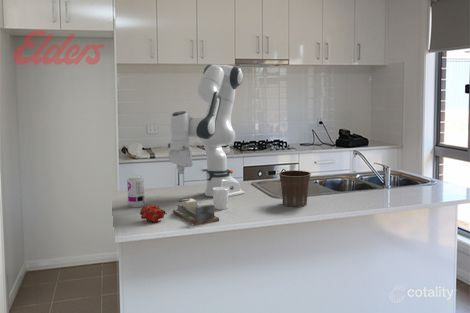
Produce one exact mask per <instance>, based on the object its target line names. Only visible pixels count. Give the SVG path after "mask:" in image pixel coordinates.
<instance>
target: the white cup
mask: <svg viewBox="0 0 470 313" xmlns="http://www.w3.org/2000/svg"><path fill="white" fill-rule="evenodd" d="M228 196H229V188H228V187H215V188H213V205H214V210H219V211H220V210H227V209H229V197H230V196H229V197H228Z"/></svg>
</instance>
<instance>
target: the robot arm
mask: <svg viewBox="0 0 470 313" xmlns="http://www.w3.org/2000/svg"><path fill="white" fill-rule="evenodd" d="M243 80H244V72H243V70H242V68H240V67H238V66H235V65H234V66H233V65H230V64H229V65H228V64H214V63H211V64H207V65H206V66H205V68H204V69H203V73H202V76H201V79H200V81H199V83H198V85H197V89H196V90H197V94H198V96H199V97H200V99H202V100H203V101H204V102H205V103H208V105H207V106H208V107H207V110H206V114H205V116H204V117H201V118H200V117H193V116H190V115H189V114H188V112H187V111H183V110H182V111H176V112H174V113H172V114H171V117H170V124H169V125H170V134H171V135H170V136H171V137H170V142H168V143H167V148H168V161H169V162H170V163H171V164H174V165H175V164H176V169H177V173H178V174H180V175H184V172H185V168H190V167H192V166H193V154H192V151H191V150H190V138H194V139H195V138H198V139H199V140H200V141H201V143H202V145H203V147H204V151H205V156H206V173H205V174H206V187H205V192H204V195H205V196H207V197H211V198H212V197H213V188H215V187H228V188H229V196H228V198H229V197H233V196H238V195H242V194H243V195H244V194H245V190H243V189H241V184H240V182H239V181H238V180H237V179H236V178H234V177H233V176H231V175H232V174H234V171H233V170H232V169H228V163H227V162H228V157H227V154H226V153H225V151H224V149H223V147H224V146H230V145H231V144H233V143H234V142H235V139H236V132H235V129H233V126H232V113H233V109H234V103H235V97H236V89H237V88H239V86H240V85H242V83H243Z"/></svg>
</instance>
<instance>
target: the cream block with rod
mask: <svg viewBox="0 0 470 313" xmlns="http://www.w3.org/2000/svg"><path fill="white" fill-rule="evenodd" d="M178 202H179V203H181V206H183V207H185V208H187V209H189V210H191V211H193V212H196V206H197V205H198V201H197V200H196V199H194V198H186V199H181V200H178Z"/></svg>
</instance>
